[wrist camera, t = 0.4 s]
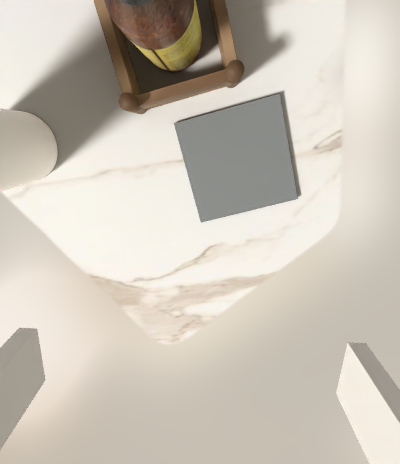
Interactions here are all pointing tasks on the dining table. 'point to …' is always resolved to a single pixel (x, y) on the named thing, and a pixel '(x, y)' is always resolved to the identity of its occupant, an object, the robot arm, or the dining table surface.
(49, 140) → the bottle
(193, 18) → the sauce bottle
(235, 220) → the dining table surface
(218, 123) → the mat
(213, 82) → the corner post wooden tray
